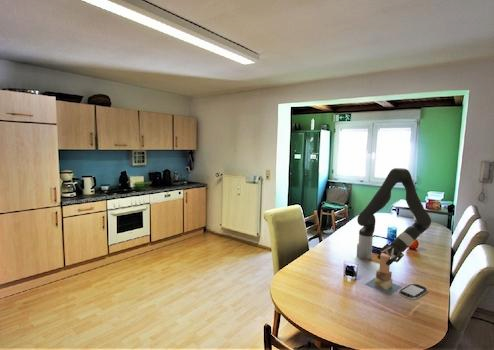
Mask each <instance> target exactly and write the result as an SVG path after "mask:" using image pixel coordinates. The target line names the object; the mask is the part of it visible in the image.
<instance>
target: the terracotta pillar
mask: <svg viewBox="0 0 494 350" xmlns="http://www.w3.org/2000/svg"><path fill="white" fill-rule="evenodd" d="M380 253H381V252H380ZM385 253H386V252H385ZM385 253H381V255H380V259H379V269H378V270H379V272H381V273H385V274H388V273H389V271H390V269H391V268H390V267H391V266H390V265H389V266H388V265H387V264H386V262H387V261H388V260H389V259H391V255H390V254H385Z"/></svg>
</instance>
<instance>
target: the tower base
mask: <svg viewBox="0 0 494 350" xmlns="http://www.w3.org/2000/svg"><path fill="white" fill-rule="evenodd" d="M374 278H375V282H374V285H375V286H378V287H380V288H383V289H385V290H387V289H389V288H390V287H391V286H392V283H393V278H392V277H391V279H390V280H388V281H387V282H386V281H383V280H381V279H378V278H376V276H375V277H374Z"/></svg>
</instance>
